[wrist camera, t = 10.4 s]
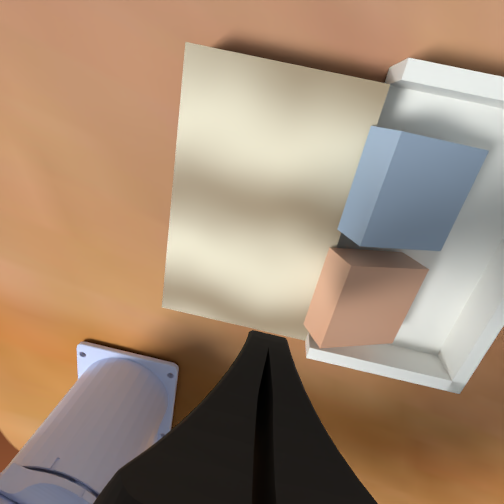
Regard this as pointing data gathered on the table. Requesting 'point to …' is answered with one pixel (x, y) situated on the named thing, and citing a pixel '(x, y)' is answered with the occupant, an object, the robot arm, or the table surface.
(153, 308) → the table surface
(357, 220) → the slate tile
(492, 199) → the tray
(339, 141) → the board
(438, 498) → the table surface
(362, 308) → the terracotta tile
